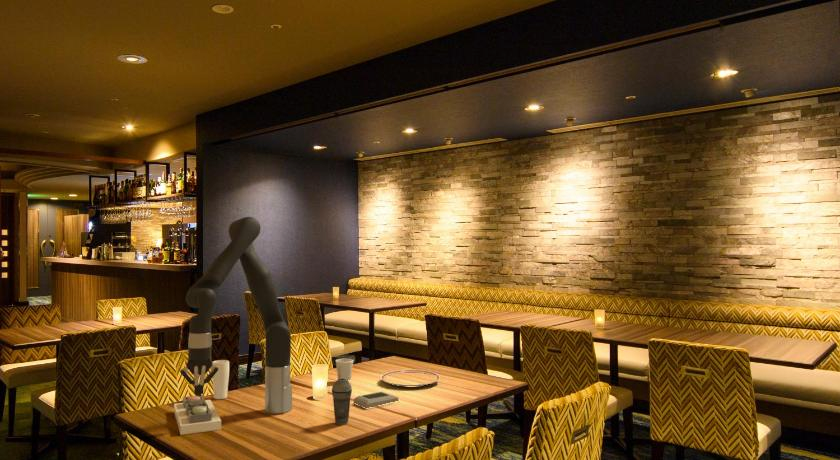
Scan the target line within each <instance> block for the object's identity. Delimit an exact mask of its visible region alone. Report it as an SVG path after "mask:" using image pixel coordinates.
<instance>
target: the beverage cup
mask: <svg viewBox="0 0 840 460" xmlns="http://www.w3.org/2000/svg"><path fill="white" fill-rule="evenodd" d="M339 377H340V379H338V378H337V380H336V381H334V382H333V384H332V387H331V394H332V401H333V411H334V412H333V415H334V423H336V424H335V425H337V424H345V425H347V424H346V423H348V424H349V417H350V408H351V396H352V393H353V392H352V391H353V389H352V384H351V382H350V383H349V381H348V380H346V379H341V371H340V366H339Z"/></svg>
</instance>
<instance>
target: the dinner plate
mask: <svg viewBox="0 0 840 460" xmlns="http://www.w3.org/2000/svg"><path fill="white" fill-rule="evenodd" d="M396 373H424V374H429V375H433V376H435V377H436V378H437V379H436V381H434V382H431V383H426V384H418V385H403V384H394V383H389V382H386V381H385V378H386V377H387V376H390V375H392V374H396ZM440 379H441V376H440V374H438V373H437V372H433V371H431V370H430V371H429V370H425V369H424V370H423V369H399V370H397V369H396V370H392V371H388V372H385V373H382V375H380V380H381V381H383V382H385V383H386V384H389V385H391V384H393V385H392V386H394V385H399V386H422V385H427V386H429V385H428V384H430V385H432V384H434V383H436V382H438V381H440Z"/></svg>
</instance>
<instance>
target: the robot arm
mask: <svg viewBox="0 0 840 460" xmlns="http://www.w3.org/2000/svg"><path fill="white" fill-rule="evenodd" d="M228 226H229V228H228V235H229V238H230V242H229V244H228V245H227V246H226V247H225V248H224V249H223V250H222V251H221V252H220V253H219V254H218V256H216V257H215V258H214V259H213V261H212V262H211V264H210V265H209V267H208V268H207V270H206V271H205V273H204V274H203V275H202V276H201V277H200V278H199V279H198V280H197V281H196V282H194V283H193V284H192V285H191V286H190V287H189V290H188V291H187V293H186V296H185V301H186V304H187V306H188V307H190V308H195V309H198V311H197V314H195V315H192V316H191V317H190V319H189V335H188V341H187V342H188V343H187V344H188V346H187V347H188V348H187V352H188V353H187V362H186V364H185V365H186V366H185V367H184V368H180V370H179V373H180V375H182V376H183V378H184V379H185V380H186V381H187V382H188V384H190V385H193V386H194V389H193V393H194V396H201V395H204V386H205V385H206V384H208V383H209V382H210V381H211V380H213V378H212V377H213V376H214V375H215V374H216V372H217V371H218V368H217V367H215V366H214V365H212V362H213V361H212V345H213V342H212V338H213V337H212V319H213V316H214V313H215V310H216V306H217V301H218V300H217V294H216V292H215V291H214V290H215V289H218V288H220V287H221V286H222V285H223V284H224V282H225V281H226V279H227V277H228V276H229V274H230V273H231V271H232V269H233V267H234V266H235V265H236V264H237V262H238V260H239V261H240V264H241V268H242V271H243V273H244V276H245V279H246V283H247V285H248V289H249V292H250V294H251V296H252V299H253V301H254V303H255V305H256V307H257V309H258V311H259V312H260V315H261V319H262V323H263V327H264V333H265V358H264V359H265V369H264V370H265V371H264V373H265V375H264V379H265V380H264V384H265V385H264V386H265V387H264V412H265V413H267V414H276V415H277V414H285V413H288V412H289V411H291V410H293V384H292V383H291V359H292V358H291V356H292V355H291V350H292V346H291V345H292V344H291V343H292V336H291V330H290V329H289V327H288V325H287V323H286V320H285V319H284V316H283V314H282V311H281V309H280V305H279V299H278V293H277V289H276V286H275V281H274V279H273V276H272V273H271V271H270V269H269V268H268V267H267V265H266V264H265V263H264V261H263V260H261V258H260V257H259V256H258V254H257V252H256V250H255V246H254V245H253V243H254V242H255V240H256V239H257V238H258V237H259V235H260V233H261V224H260V221H259V220H257V219H256V217H252V216H245V217H242V218H239V219H236V220H234V221H232V222H231V223H230V224H229V225H228ZM209 370H210V372H209ZM189 372H190V373H191V375H193V379H192V378H191V377H190V375H189V374H188V373H189ZM208 372H209V373H208ZM207 373H208V375H207V376H206V377H205V375H206V374H207Z"/></svg>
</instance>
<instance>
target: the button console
mask: <svg viewBox="0 0 840 460" xmlns="http://www.w3.org/2000/svg"><path fill="white" fill-rule="evenodd" d="M192 396H193V395H190V396H183V397H182V402H178V403H173V413H174V416H175V421H176V425H177V426H178V431H179V435H180V436H182V435H191V434H198V433H199V434H200V433H207V432H213V431H221V430H222V419H221V418H220V416H219V414H218V412H217V410H216V407H215V405H214V404H213V402H212V400H211V399H206V398H205V396H204V394H201V396H199V397H200V399H203V406H206V407H207V413H205V414H197V415H193V407H191V408H190V401H191V400H190V401H187V398H188V397H192Z"/></svg>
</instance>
